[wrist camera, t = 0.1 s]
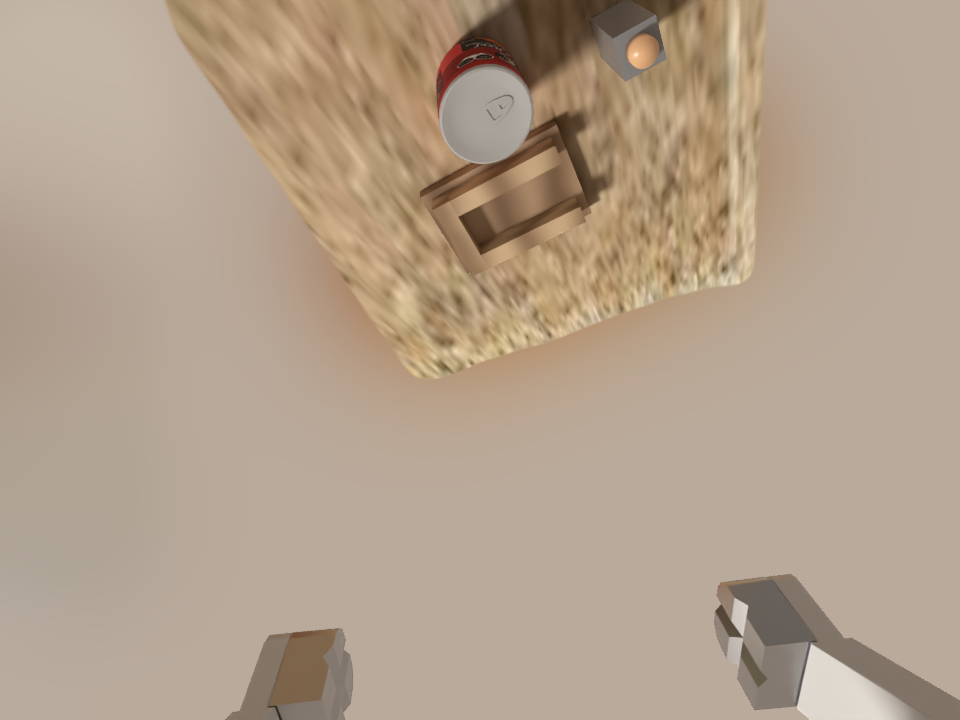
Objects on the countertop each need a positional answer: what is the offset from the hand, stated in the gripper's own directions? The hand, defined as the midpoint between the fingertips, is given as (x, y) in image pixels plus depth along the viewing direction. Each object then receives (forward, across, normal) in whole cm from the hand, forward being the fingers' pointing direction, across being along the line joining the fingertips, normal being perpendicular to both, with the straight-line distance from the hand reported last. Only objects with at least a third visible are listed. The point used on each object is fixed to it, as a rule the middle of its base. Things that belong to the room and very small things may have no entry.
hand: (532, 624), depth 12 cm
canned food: (+50, -3, -14) cm, 52 cm away
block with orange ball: (+49, -16, -17) cm, 54 cm away
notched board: (+54, -5, -2) cm, 54 cm away
